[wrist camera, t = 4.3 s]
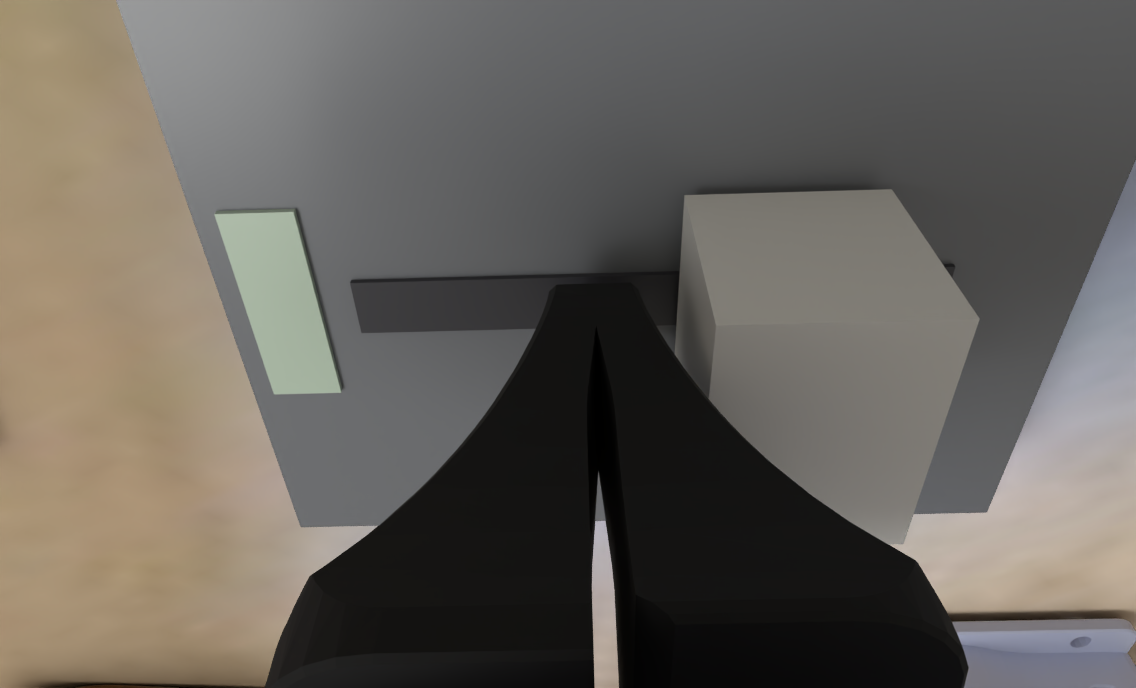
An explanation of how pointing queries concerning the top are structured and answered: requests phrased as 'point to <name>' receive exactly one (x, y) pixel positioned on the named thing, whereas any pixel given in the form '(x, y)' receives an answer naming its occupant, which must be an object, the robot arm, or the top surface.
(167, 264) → the top surface
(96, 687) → the tin
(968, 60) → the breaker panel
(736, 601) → the robot arm
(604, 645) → the top surface
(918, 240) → the off-white cube
